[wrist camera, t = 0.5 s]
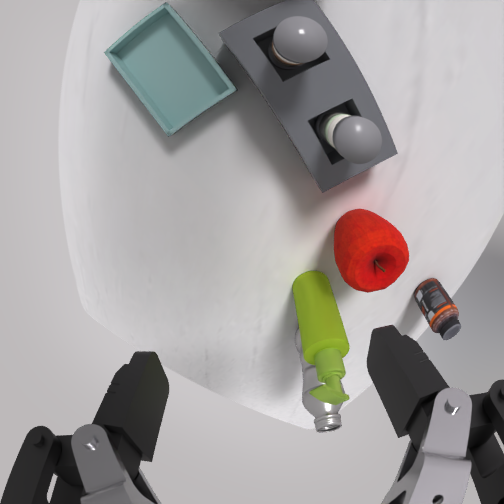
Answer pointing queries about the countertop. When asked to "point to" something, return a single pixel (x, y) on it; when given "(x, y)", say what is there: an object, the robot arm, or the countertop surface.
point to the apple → (369, 250)
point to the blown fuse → (297, 42)
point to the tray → (169, 69)
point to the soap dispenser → (321, 334)
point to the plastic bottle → (321, 411)
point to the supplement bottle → (438, 308)
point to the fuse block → (315, 96)
